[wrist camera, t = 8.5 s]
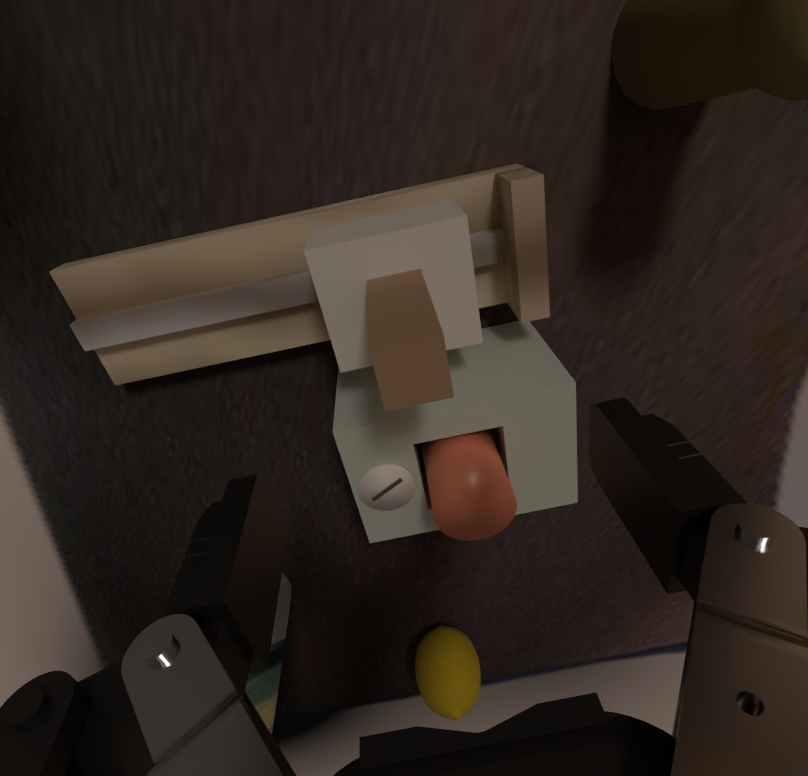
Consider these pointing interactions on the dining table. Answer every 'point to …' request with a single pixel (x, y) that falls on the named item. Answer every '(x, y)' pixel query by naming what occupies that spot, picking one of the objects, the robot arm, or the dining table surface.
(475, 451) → the gauge plunger
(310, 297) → the rail
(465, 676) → the lemon
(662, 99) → the dark brown knob shape
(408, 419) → the cabinet
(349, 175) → the dining table surface
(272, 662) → the lotion bottle
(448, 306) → the carriage
